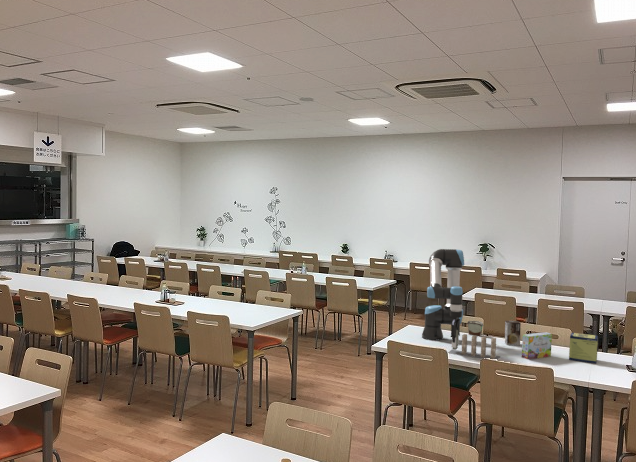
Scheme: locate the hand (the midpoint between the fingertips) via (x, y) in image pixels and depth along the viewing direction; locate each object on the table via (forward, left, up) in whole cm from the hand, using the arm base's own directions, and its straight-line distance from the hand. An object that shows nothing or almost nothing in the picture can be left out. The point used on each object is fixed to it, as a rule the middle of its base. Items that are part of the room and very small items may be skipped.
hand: (455, 346), depth 341 cm
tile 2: (+18, 0, -4) cm, 18 cm away
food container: (0, +61, -5) cm, 61 cm away
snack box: (+47, +19, -5) cm, 51 cm away
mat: (+12, 0, -4) cm, 13 cm away
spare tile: (0, 0, -2) cm, 2 cm away
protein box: (+73, +29, -5) cm, 79 cm away
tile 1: (+24, 0, -4) cm, 24 cm away
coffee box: (+28, +46, -5) cm, 54 cm away
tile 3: (+12, 0, -4) cm, 13 cm away
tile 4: (+6, 0, -4) cm, 7 cm away
